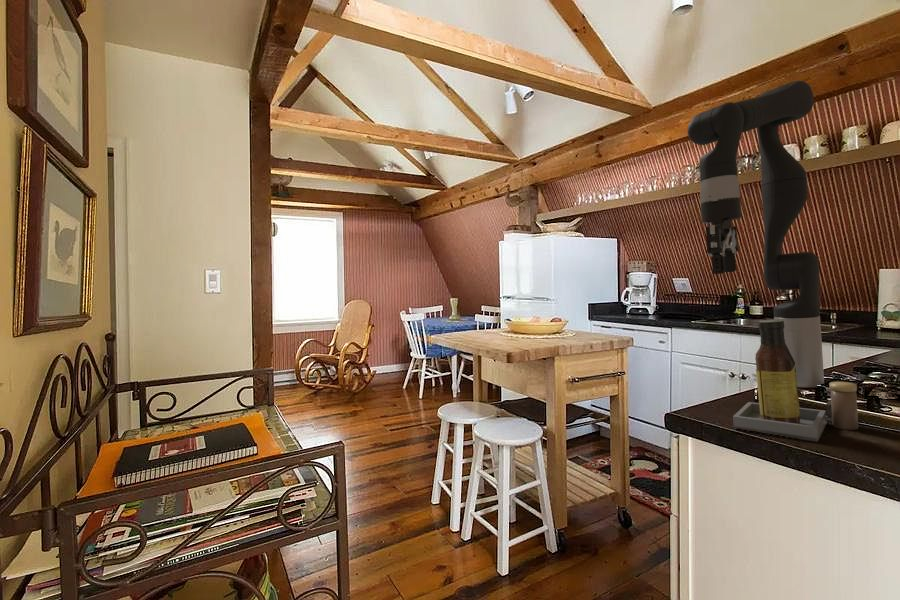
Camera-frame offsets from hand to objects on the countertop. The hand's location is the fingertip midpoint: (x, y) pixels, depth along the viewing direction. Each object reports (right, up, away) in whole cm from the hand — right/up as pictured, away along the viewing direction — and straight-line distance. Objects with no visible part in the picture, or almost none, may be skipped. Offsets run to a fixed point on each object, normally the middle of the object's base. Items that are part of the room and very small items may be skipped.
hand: (724, 272), depth 98 cm
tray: (+3, -30, -13) cm, 33 cm away
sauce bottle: (+3, -30, -13) cm, 33 cm away
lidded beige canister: (+13, -30, -16) cm, 36 cm away
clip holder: (+12, -29, -7) cm, 32 cm away
